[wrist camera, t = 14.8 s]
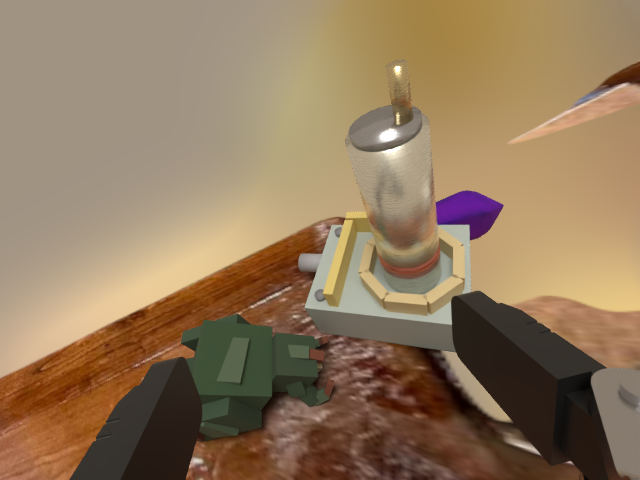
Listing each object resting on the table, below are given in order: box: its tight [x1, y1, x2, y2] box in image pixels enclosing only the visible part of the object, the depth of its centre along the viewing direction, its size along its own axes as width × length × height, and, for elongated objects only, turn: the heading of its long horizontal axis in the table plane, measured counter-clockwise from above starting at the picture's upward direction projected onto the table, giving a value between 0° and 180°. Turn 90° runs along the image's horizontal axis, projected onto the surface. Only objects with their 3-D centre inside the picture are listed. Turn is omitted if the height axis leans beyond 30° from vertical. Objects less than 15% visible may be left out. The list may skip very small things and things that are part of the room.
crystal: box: [436, 191, 503, 240], centre depth 40 cm, size 5×5×15 cm
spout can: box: [345, 60, 441, 294], centre depth 25 cm, size 6×6×20 cm
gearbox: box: [298, 212, 471, 352], centre depth 35 cm, size 20×12×8 cm, turn 74°
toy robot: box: [181, 314, 334, 442], centre depth 32 cm, size 12×18×12 cm
